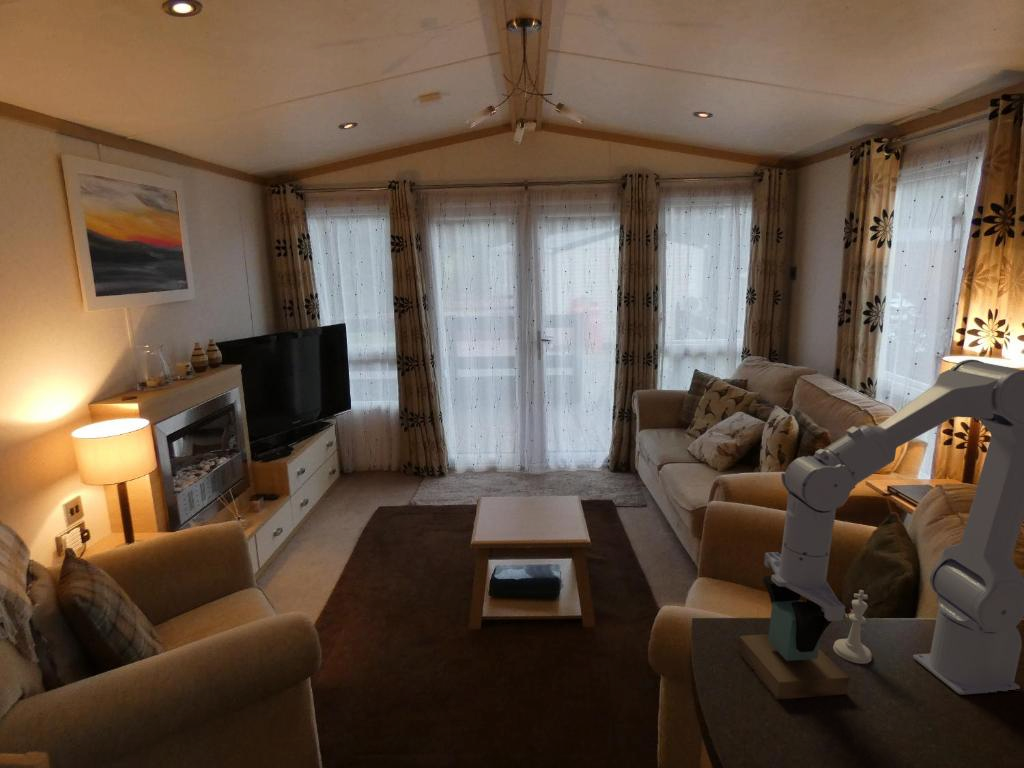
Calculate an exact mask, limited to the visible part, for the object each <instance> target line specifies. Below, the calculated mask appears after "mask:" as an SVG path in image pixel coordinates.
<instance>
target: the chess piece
mask: <svg viewBox="0 0 1024 768" xmlns="http://www.w3.org/2000/svg"><path fill="white" fill-rule="evenodd" d="M853 597H854V598H856V599H852V600H851V605H852V611H853V613H851V614H849V616H848V618H849V619H850V620H851V621H852V624H851V626H850V630H849V634H848V637H847V638H839V639H836V640H835V641H834V644H833V651H834V652H835V653H836V654H837V655H838V657H840V658H842V659H844V660H846V661H848V662H851V663H855V664H863V665H865V664H869V663H870V662H871V661H872V652H871V650H870V649H869V648H868V647H867V646H866V645H865V644H863V643H862V642H861V624H866V622H867V620H866V618H865V617H864V616H863V615H864V614H865V612H866V610H867V609H868V608H869V607H868V606H869V605H868V604H867V602H865V601H864V600H868V599H869V598H868V597H869V596H868V594H864V590H863V589H859V590H858V593H853Z"/></svg>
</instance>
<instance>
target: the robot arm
mask: <svg viewBox="0 0 1024 768" xmlns="http://www.w3.org/2000/svg"><path fill="white" fill-rule="evenodd" d="M935 381H936V382H935V383H934V384H933V385H932V386H931V387H930V388H928V389H926V390H925V391H924V392H922V393H921V394H920V395H918V396H917V397H916V398H914V399H913V400H911V401H910V402H909V403H907V404H906V405H904V406H903V407H901V408H900V409H899V410H897V411H896V412H895V413H893V415H891V416H889V417H888V418H886V419H885V420H884V421H882V422H881V423H879V424H878V425H875V426H872V425H869V424H862V425H859V426H858V427H857V426H855V425H854V426H851V427H849V428H847V429H846V430H845V433H846V434H845V435H843V436H842V437H841V438H839V439H837V440H836V441H834V442H832V443H831V444H829V445H827V446H826V447H824V448H823V449H822V448H819V449H818V450H815V452H814V455H807V456H805V455H803V456H801V457H800V456H799V457H797V458H796V459H794V460H793V461H792V462H791V463H790V464H789V465H788V466H787V468H786V469H785V472H782V473H781V475H780V477H781V478H780V479H781V483H782V486H783V487H784V488H785V490H786V492H787V499H786V503H787V505H786V512H785V519H784V520H785V521H784V529H783V536H782V543H781V553H779V552H778V551H776V552H775V551H774V552H772V551H771V552H765V553H764V560H763V561H764V562H763V565H764V566H765V567H766V568H768V569H771V568H772V571H773V573H771V575H766V576H764V577H763V581H762V582H763V583H764V585H765V588H766V589H767V593H768V595H769V599H770V602H771V605H772V603H773V602H777V601H796V600H801V599H800V598H801V596H802V597H803V598H804V599H806V601H805V600H803V601H804V602H792V604H791V605H792V607H793V610H794V614H795V618H796V627H797V630H796V646H797V650H798V651H799V652H813V651H814V649H815V647H816V645H817V643H818V641H819V639H820V640H821V636H822V635H823V633H824V632H825V630H826V629H827V628H828V626H829V625H830V624H832V622H838V621H844V616H845V612H846V606H845V605H844V604H843V603H842V602H841V601H840V600H839V599H838V597H837V596H836V594H835V592H834V591H833V589H832V587H831V585H830V584H829V583H828V581H827V577H828V576H827V575H828V567H829V561H830V556H831V555H830V554H831V548H832V547H831V545H832V540H833V539H832V538H833V531H834V525H835V518H836V512H837V511H836V510H837V509H838V508H840V507H843V506H844V505H845V503H846V502H847V501H848V499H849V497H850V494H851V492H852V491H853V490H854V489H855V488H856V485H857V484H859V483H861V482H862V481H864V480H866V479H867V478H869V477H871V476H872V475H874V474H875V473H877V472H878V471H880V470H882V469H883V468H885V467H887V466H888V465H890V464H892V463H893V462H894V461H895V458H896V454H897V453H896V452H897V449H898V448H899V447H901V446H903V445H905V444H906V443H908V442H910V441H912V440H914V439H915V438H918V437H920V436H921V435H923V434H925V433H927V432H929V431H930V430H933V429H934V428H936V427H938V426H940V425H942V424H943V423H946V422H947V421H949V420H952V419H953V418H958V417H959V418H972V419H973V418H974V419H977V420H979V422H980V423H981V425H983V427H985V429H986V430H987V431H988V432H989V433H990V435H991V436H990V440H989V443H988V445H987V449H986V452H985V453H986V454H985V457H984V461H983V464H982V467H981V472H980V476H979V478H978V481H977V485H976V489H975V492H974V496H973V499H972V502H971V507H970V510H969V513H968V517H967V519H966V524H965V527H964V531H963V535H962V537H961V542H959V543H956V544H954V545H951V546H947V547H945V548H944V549H943V552H942V555H941V558H940V559H939V560H938V562H937V563H935V565H934V566H933V568H932V570H931V572H930V575H929V584H930V587H931V589H932V591H933V592H934V593H935V594H937V595H936V600H935V602H936V604H938V609H937V615H936V620H935V625H934V632H933V637H932V643H931V648H930V653H918V654H917V653H916V654H913V656H912V657H913V659H914V660H916V662H917V663H919V664H920V665H922V667H924V668H925V669H926V670H928V671H929V672H930V673H931V674H933V675H934V676H935V678H938V679H939V680H940V681H941V682H943V683H944V684H945V685H947V686H948V687H949V688H951V690H953V691H954V692H955V693H957V694H958V695H974V694H975V695H976V694H989V692H990V693H998V692H997V691H1003V692H1009V691H1008V690H1015V689H1019V690H1020V688H1021V687H1020V685H1019V684H1017V683H1016V682H1015V678H1016V676H1017V675H1016V674H1017V670H1018V666H1019V660H1020V655H1021V652H1022V651H1021V650H1022V637H1021V633H1020V631H1019V629H1018V628H1017V626H1018V625H1019V624H1020V623H1021V622H1022V620H1023V618H1024V576H1023V574H1022V573H1021V571H1020V569H1018V567H1017V565H1016V563H1015V562H1014V560H1013V555H1014V552H1015V549H1016V546H1017V542H1018V538H1019V536H1020V533H1021V529H1022V526H1023V522H1024V369H1020V368H1015V367H1009V366H1004V365H999V364H993V363H988V362H984V361H980V360H978V359H964V360H961V361H959V362H958V363H956V364H954V365H953V366H952V367H951V368H950V369H947V370H945V371H943V372H941V373H939V374H938V377H937V379H936V380H935ZM1015 691H1016V690H1015Z"/></svg>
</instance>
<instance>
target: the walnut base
mask: <svg viewBox="0 0 1024 768" xmlns="http://www.w3.org/2000/svg"><path fill="white" fill-rule="evenodd" d="M768 635H769V633H768V634H767V633H766V634H765V633H764V634H750V635H749V634H747V635H746V634H745V635H739V637H738V642H737V643H738V644H737V652H739V653H738V654H739V655H740V656H741V657H742V659H743V658H744V659H743V660H744V661H745V663H746V664H747V663H748V664H749V665H748V664H747V665H748V666H749V667H750V668H751V670H752V669H753V670H754V671H753V670H752V671H753V672H754V674H755V675H756V674H757V675H756V676H757V677H758V678H759V680H760V681H761V682H762V683H763V684H764V686H765V687H766V688H767V690H768V691H769V690H770V693H771V694H772V696H773V697H774V698H775V699H776V700H787V699H788V700H789V699H799V698H801V699H802V698H811V697H812V698H814V697H816V698H817V697H826V696H827V697H828V696H829V697H830V696H837V695H838V696H839V695H840V696H841V695H847V694H848V689H849V688H848V687H849V683H850V682H849V681H850V677H849V675H848V674H846V672H844V671H843V670H842V669H841V668H840V667H839V666H838V664H836V663H835V662H834V661H833V660H832V659H831V658H830V657H829V656H828V655H827V654H825V652H823V650H822V649H820V648H819V651H818V658H817V659H807V660H792V661H786V660H785V659H784V657H783V656H782V655H781V654H780V653H779V652H778V651H777V650H776V649H775V648H774V647H773V645H772V644H771V643H770V642H769V641H768Z"/></svg>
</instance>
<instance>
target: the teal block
mask: <svg viewBox="0 0 1024 768" xmlns="http://www.w3.org/2000/svg"><path fill="white" fill-rule="evenodd" d="M804 601H805V600H803V599H799V600H796V601H777V602H773V603H772V604H771V612H770V620H769V628H768V634H769V635H768V641H769V642H770V643H771V644H772V645H773V647H774V648H775V649H776V650H777V651H778V652H779V653H780V654H781V655H782V656H783V657H784V659H785V660H786V661H792V660H807V659H817V658H818V651H819V649H820V643H821V638H820V639H819V641H818V643H817V645H816V647H815V649H814V651H813V652H799V651H798V650H797V646H796V630H797V627H796V618H795V614H794V610H793V607H792V605H791V604H792V602H804Z"/></svg>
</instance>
